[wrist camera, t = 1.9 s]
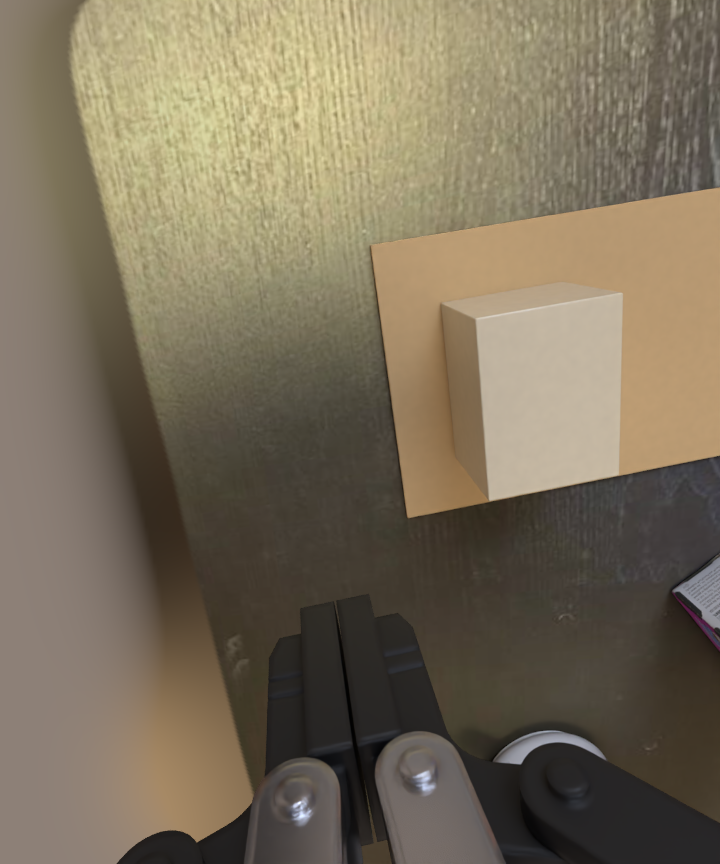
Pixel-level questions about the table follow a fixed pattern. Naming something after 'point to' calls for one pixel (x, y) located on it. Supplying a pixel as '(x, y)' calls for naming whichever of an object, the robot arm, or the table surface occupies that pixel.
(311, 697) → the robot arm
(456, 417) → the cream cardboard carton
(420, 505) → the runner
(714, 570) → the candy bar box
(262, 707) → the table surface
